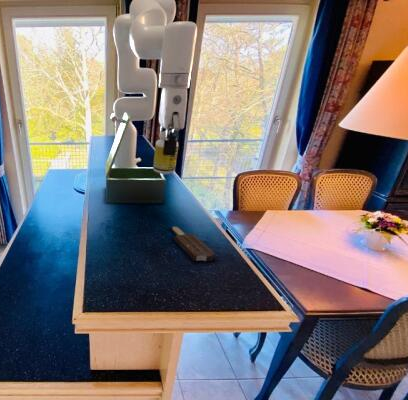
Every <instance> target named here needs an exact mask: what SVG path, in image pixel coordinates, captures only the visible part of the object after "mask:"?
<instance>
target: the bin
mask: <svg viewBox="0 0 408 400" xmlns="http://www.w3.org/2000/svg"><path fill="white" fill-rule="evenodd" d="M166 181H167V180H166V178H165V175H164V174H160V173H157V172H155V171H154V170H153V167H138V168H132V167H112V169H111V171H110V174H109V177H108V178H106V177H105V203H106V204H164V198H165V190H166Z"/></svg>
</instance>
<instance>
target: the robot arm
mask: <svg viewBox="0 0 408 400" xmlns="http://www.w3.org/2000/svg"><path fill="white" fill-rule="evenodd" d="M176 13H177V4H176V1H175V0H132V1H131V2H130V4H129V13H123V14H120V15H118V16H116V18H115V19H114V22H113V29H112V32H113V33H112V34H113V40H114V41H113V42H114V45H115V48H116V54H117V89H118V91H119V92H120V93H122V94H126V95H127V94H131V95H132V94H134V95H135V94H142V95H143V96H123V97H119V98H118V99H116V100H115V101H114V103H113V114H115V115H116V117H119V118H122V119H123V116H124V114H125V112H126V113H127V114H128V115H129V117H130V121H129V124H128V127H127V129H126V132H125V134H124V137H123V140H122V142H121V145H120V148H119V150H118V153H117V155H116V158H115V161H114V163H113V166H112V167H132V168H139V166H138V165H137V164H138V163H140V162H141V161H142V159H141V158H140V157H138V158H137V157H136V155H137V154H136V153H137V140H138V139H137V137H138V131H137V128H136V127H135V125H134V124H133V122H134V121H150V120H152V119H153V117H154V116H155V113H156V102H157V90H158V88H160V89H161V94H160V103H159V111H158V123H159V125H160V128H159V133H160V132H162V131H166V140H164V148H163V155H175V152H176V145H177V142H178V136H179V131H180V130H183V129H184V128H185V122H186V114H187V113H186V112H187V102H188V89H189V88H190V87H191V86H190V83H191V76H192V71H193V64H194V57H195V51H196V44H197V43H196V42H197V37H198V36H197V35H198V25H197V24H196V22H193V21H186V20H185V21H174V20H175V16H176ZM140 60H160V66H159V67H160V68H159V79H158V78H157V73H156V71H155V70H154V69H153V68H149V67H140ZM157 86H158V87H157ZM120 124H121V122H118V121H115V122H114V139H115V138H116V135H117V133H118V130H119V127H120ZM169 131H172V132H170V134H169ZM159 139H160V138H159V137H158V140H159Z"/></svg>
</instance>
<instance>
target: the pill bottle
mask: <svg viewBox="0 0 408 400" xmlns="http://www.w3.org/2000/svg"><path fill="white" fill-rule="evenodd" d="M170 132H172V131H169V134H170ZM159 138H160V139H159ZM164 140H166V131H162V132H160V131H159V134H158V140H156V141H155V147H154V156H153V164H152V165H153V166H152V168H153V170H154V171H155V172H157V173H160V174H163V175H170V174H171V175H172V174H173V173H175V172H176V165H177V159H178V151H179V142H178V141H177V145H176V152H175V155H163V148H164Z"/></svg>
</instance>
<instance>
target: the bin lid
mask: <svg viewBox="0 0 408 400" xmlns="http://www.w3.org/2000/svg"><path fill="white" fill-rule="evenodd" d="M110 120H111V122H113V123H115V121H118V122H121V124H120V127H119V130H118V133H117V135H116V138H115V137H114V141H113V144H112V147H111V149H110V152H109V154H108V157H107V160H106V163H105V165H104V167H105V169H104V170H105V173H104V175H105V179H106V178H108V177H109V174H110V171H111V169H112V166H113V164H115V158H116V155H117V153H118V150H119V148H120V145H121V142H122V140H123V137H124V134H125V132H126V129H127V127H128V124H129V121H130V117H129V115H128V114H127V113H126V112H125V114H124V116H123V119H122V118H119V117H116V115H115V114H114V113H111V115H110Z"/></svg>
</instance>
